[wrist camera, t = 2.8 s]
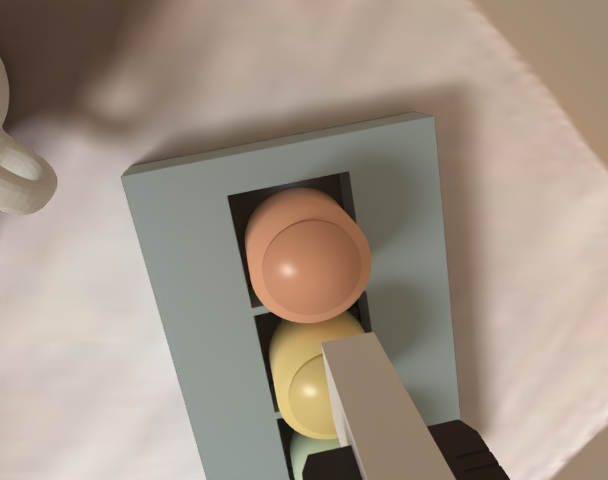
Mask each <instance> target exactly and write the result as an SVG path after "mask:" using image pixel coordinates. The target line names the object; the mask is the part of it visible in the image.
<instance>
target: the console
mask: <svg viewBox="0 0 608 480" xmlns="http://www.w3.org/2000/svg"><path fill="white" fill-rule="evenodd" d="M337 173H339V178H340V185H341V192H342V199H343V205H344V211H345V212H346V213H347V214H348V215H349V217H350V218H351V219H352V220H353V221H354V222H355V223H356V224H357V225H358V227H359V228H360V229H361V230H362V232H363V233H364V235H365V237H366V239H367V241H368V244H369V247H370V252H371V271H370V276H369V279H368V282H367V285H366V287H365V289H364V291H363V292H362V294H361V295H360V297H359V298H358V299H357V300H358V306H359V313H360V320H361V326H362V328H363V330H364V332H365V333H370V332H374V333H375V335H376V337H377V338H378V340H379V342H380V344H381V346H382V347H383V349H384V351H385V353H386V355H387V356H388V358H389V360H390V362H391V364H392V365H393V367H394V369H395V371H396V373H397V374H398V376H399V378H400V380H401V382H402V383H403V385H404V387H405V389H406V391H407V392H408V394H409V396H410V398H411V400H412V401H413V403H414V405H415V407H416V409H417V410H418V412H419V414H420V416H421V418H422V419H423V421H424V423H425V425H426V426H431V425H435V424H440V423H444V422H448V421H453V420H457V419H459V420H461V419H460V408H459V396H458V385H457V373H456V361H455V350H454V338H453V327H452V315H451V303H450V292H449V280H448V269H447V257H446V245H445V234H444V222H443V211H442V199H441V187H440V176H439V164H438V153H437V141H436V129H435V118H434V116H431V115H427V114H422V113H418V112H410V113H405V114H400V115H395V116H389V117H384V118H379V119H374V120H369V121H363V122H358V123H353V124H348V125H342V126H337V127H332V128H327V129H322V130H316V131H311V132H306V133H301V134H296V135H290V136H285V137H280V138H275V139H270V140H264V141H259V142H254V143H249V144H243V145H238V146H233V147H228V148H223V149H217V150H212V151H207V152H202V153H197V154H191V155H186V156H181V157H176V158H171V159H165V160H160V161H155V162H150V163H144V164H139V165H134V166H130V167H129V168H128V169H127V170H126V171H125V172H124V174H123V175H122V176H121V180H122V183H123V187H124V190H125V194H126V197H127V201H128V204H129V208H130V211H131V215H132V218H133V222H134V225H135V229H136V233H137V236H138V240H139V243H140V247H141V250H142V254H143V257H144V261H145V264H146V268H147V271H148V275H149V278H150V282H151V285H152V289H153V292H154V296H155V299H156V303H157V306H158V310H159V313H160V317H161V321H162V324H163V328H164V331H165V335H166V338H167V342H168V345H169V349H170V352H171V356H172V359H173V363H174V366H175V370H176V373H177V377H178V380H179V384H180V387H181V391H182V394H183V398H184V401H185V405H186V409H187V412H188V416H189V419H190V423H191V426H192V430H193V433H194V437H195V440H196V444H197V447H198V451H199V454H200V458H201V461H202V465H203V468H204V472H205V475H206V479H207V480H295V478H294V473H293V469H291V470H289V469H288V465H287V460H286V455H285V451H284V446H283V442H282V437H281V433H280V428H279V424H278V419H279V418H283V417H282V415H281V413H280V410H279V407H278V403H277V397H276V392H275V387H274V384H271V385H270V383H269V378H268V374H267V369H266V365H265V360H264V355H263V351H262V346H261V342H260V337H259V333H258V328H257V324H256V319H255V315H259V314H264V313H268V312H271V311H270V310H269V309H268V308H266V307H265V306H264V305H263V303H262V302H261V301H260V300H259V298H258V297H257V295H256V293H255V291H254V289H253V287H248V283H247V278H246V274H245V269H244V264H243V260H242V255H241V251H240V246H239V242H238V237H237V233H236V228H235V223H234V219H233V214H232V210H231V205H230V201H229V196H228V195H233V194H238V193H243V192H248V191H253V190H258V189H263V188H268V187H273V186H278V185H283V184H288V183H292V182H297V181H302V180H307V179H312V178H317V177H322V176H327V175H332V174H337Z"/></svg>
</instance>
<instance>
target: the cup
mask: <svg viewBox="0 0 608 480" xmlns="http://www.w3.org/2000/svg"><path fill="white" fill-rule="evenodd" d="M8 106H9V83H8V78H7V74H6V71H5V67H4V64H3V62H2V60H1V58H0V211H2V212H6V213H10V214H17V215H27V214H31V213H34V212H36V211H38V210H40V209H41V208H43V207H44V206H45V205H46V203H47V202H48V201H49V200H50V199H51V197H52V196H53V194H54V192H55V190H56V187H57V176H56V173H55V172H54V170H53V168H52V167H51V166H50V165H49V164H48V163H47V162H46V161H45V160H44V159H43V158H42V157H40V156H39V155H38V154H36V153H35V152H33V151H32V150H30V149H29V148H28V147H26V146H25V145H23V144H22V143H20V142H18V141H17V140H15V139H14V138H12V137H11V136H9V135H8V134H7V133H6V132H5V131H4V130H3V128H2V125H3V123H4V120H5V118H6V115H7V111H8Z"/></svg>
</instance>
